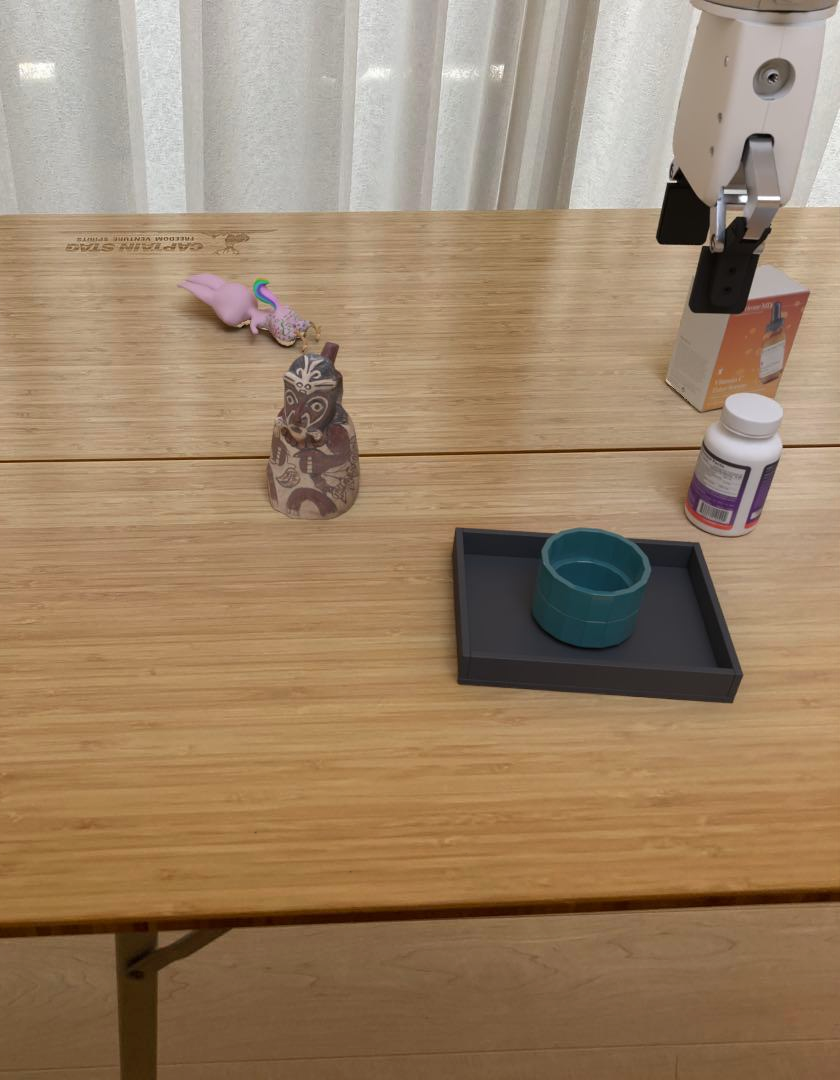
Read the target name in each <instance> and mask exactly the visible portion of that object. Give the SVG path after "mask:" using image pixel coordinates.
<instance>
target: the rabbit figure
mask: <svg viewBox="0 0 840 1080" xmlns="http://www.w3.org/2000/svg"><path fill="white" fill-rule="evenodd" d="M184 281H185V282H180V283H179V282H177V283H176V285H175V286H176V287H178V288H181V289H184V290H186V291H188V292H189V293H191V294H192V295H193V296H195V297H196V298H197V299H198V300H200V301H201V302H203V303H204V304H206V305H208V306H210V307H211V309H213V311H214V312H215V314H216V316H217V317H218V318H219V319H220V320H221V321H222V322H223V323H224V324H225V325H227V326H229V325H230V326H229V327H231V326H237V325H239V324H241V323H242V322H245V321H247V320H251V321H250V324H249V328H250V330H251V333H252V335H254V336H255V335H258V334H259V330H258V327H260V328H266V329H268V330H269V331H268V332H270V331H271V332H270V334H271V333H272V334H273V335H274V336H275V337H276V338H278V339H280V340H282V341H286V342H291V341H294V340H296V341H297V340H298V339H297V337H300V338H299V339H300V340H301V342H302V346H303V345H304V346H305V345H307V346H308V343H309V342H308V341H309V340H308V337H309V335H306V336H305V337H304V336H302V335H301V334H300V333H301V332H305V331H306V332H308V329H309V328H313V329H314V331H315V335H316V334H320V333H321V331H322V330H321V327H322V325H321V324H320V325H319V326H317V325H316V324H315V322H314V321H313V319H310V320H305V319H303V318H302V317H301V316H300V315H299V313H297V312H296V311H294V310H293V309H291V306H290V305H289V304H285V305H281V303H280V301H279V299H278V297H277V296H276V295H275V294H274V292H273V291H271V290H270V289H269V288H268V286H267V285H270V284H271V282H270V281H269V280H268V279H266V278H263V277H259V278H257V279H256V280H255V281H254V283H253V288H252V289H253V291H252V290H251V289H249V288H248V287H247V286H246V285H244V284H241V283H240V282H239V283H238V282H228V281H227V280H226V279H224V278H222V277H220V276H218V275H216V274H212V273H208V272H207V273H206V272H204V273H196V274H193V275H191V276H188V277H186V278H184ZM258 300H259V301H260V302H262V303H263V304H267V305H271V307H268V308H265V309H259V302H258ZM260 328H259V329H260ZM272 334H271V335H272ZM273 335H272V336H273ZM274 336H273V337H274Z"/></svg>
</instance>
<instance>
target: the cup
mask: <svg viewBox="0 0 840 1080" xmlns="http://www.w3.org/2000/svg"><path fill="white" fill-rule="evenodd" d="M555 533H556V532H555ZM626 538H627V537H626V536H625V537H624V536H623V535H622V534H619V533H615V532H612V531H609V530H606V529H602V528H598V527H597V528H595V527H581V526H579V527H574V528H569V529H563V530H560V531H558V532H557V533H556V534H555V535H553V536H552V537H550V538H548V539H547V541H546V543H545V545H544V547H543V548H542V550H541V555H540V560H539V565H538V570H537V575H536V580H535V585H534V590H533V595H532V600H531V605H532V613H533V616H534V618H535V619H536V620H537V622H538V623H539V624H540V626H541V627H542V628H543V629H544V630H545V631H547V632H548V633H549V634H551V635H552V636H553V637H555V638H556V639H558V640H560V641H562V642H564V643H567V644H569V645H572V646H576V647H581V648H604V647H608V646H612V645H617V644H620V643H621V642H622V641H624V640H625V639H626V638H628V637H629V636H631V634H632V633H633V630H634V628H635V625H636V623H637V619H638V616H639V612H640V609H641V605H642V602H643V598H644V595H645V591H646V588H647V584H648V581H649V577H650V574H651V567H650V564H649V560H648V557H647V556H646V555H645V553H644V552H643V551H642V550H641V549H640V548H639V547H638V546H637V545H636V544H635V543H633V542H631V541H630V540H628V539H626Z"/></svg>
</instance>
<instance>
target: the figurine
mask: <svg viewBox="0 0 840 1080" xmlns="http://www.w3.org/2000/svg"><path fill="white" fill-rule="evenodd" d="M339 349H340V345H339V344H338V343H336V342H333V341H331V340H327V341H325V343H324V346H323V347H322V349H321V352H320V354H318V353H313V352H306V353H303V354H302V355H300V356H299V357H297V358H296V359H294V361H293V362H292V363H291V365H290V366H289V368H288V370H286V371H285V372H284V373H283V374H282V381H283V384H284V385H283V387H284V388H283V389H284V390H283V391H284V393H283V407H281V409H280V411H279V412H278V414H277V416H276V417H275V419H274V422H273V423H274V425H273V428H272V434H271V435H272V437H271V445H270V451H269V452H270V453H269V458H268V462H267V465H266V476H267V479H266V481H267V489H268V494H269V503H270V504H271V506H272V508H273V509H274V510H275V511H278V512H280V513H282V514H284V515H285V516H287V517H290V518H292V519H301V520H310V521H311V520H319V521H321V520H331V519H334V518H337V517H339V516H341V515H342V514H344V513H346V512H347V511H348V510H350V509H351V507H352V505H353V504H354V503H355V501H356V498H357V495H358V493H359V489H360V480H361V479H360V478H361V466H360V465H361V464H360V454H359V453H360V452H359V443H358V440H357V433H356V428H355V425H354V422H353V420H352V419H353V418H352V417H351V416H350V414H349V413H348V411H347V410H346V409H345V408H344V407H343V397H344V376H343V375H342V373H341V371H339V370H338V369H337V368H336V367H335V362H336V359H337V356H338V353H339Z"/></svg>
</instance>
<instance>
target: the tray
mask: <svg viewBox="0 0 840 1080" xmlns="http://www.w3.org/2000/svg"><path fill="white" fill-rule="evenodd" d="M555 534H556V532H541V531H539V532H538V531H524V530H510V529H509V530H508V529H493V528H492V529H491V528H476V527H462V526H461V527H460V526H459V527H458V526H455V528H454V535H453V541H452V549H451V565H452V584H453V585H452V587H453V588H452V589H453V605H454V606H453V607H454V609H453V610H454V627H455V645H456V646H455V648H456V665H457V684H458V685H465V686H479V687H481V686H482V687H497V688H508V689H509V688H510V689H523V690H524V689H525V690H537V691H538V690H541V691H554V692H566V693H567V692H568V693H583V694H596V695H610V696H624V697H625V696H626V697H639V698H640V697H641V698H653V699H654V698H656V699H669V700H671V699H672V700H682V701H683V700H685V701H697V702H698V701H699V702H711V703H726V704H727V703H728V704H733V703H734V701H735V698H736V695H737V693H738V691H739V687H740V685H741V683H742V680H743V677H744V672H743V670H742V667H741V663H740V661H739V658H738V654H737V652H736V648H735V645H734V642H733V640H732V637H731V633H730V630H729V627H728V625H727V621H726V618H725V615H724V612H723V609H722V606H721V603H720V600H719V597H718V594H717V591H716V588H715V585H714V582H713V579H712V576H711V573H710V571H709V567H708V565H707V564H708V563H707V561H706V558H705V555H704V552H703V548H702V546H701V542H698V541H684V540H667V539H652V538H637V537H636V538H635V537H625V538H626V539H628V540H630V541H631V542H633V543H635V544H636V545H637V546H638V547H639V548H640V549H641V550H642V551H643V552H644V553H645V555H646V556H647V557H648V560H649V564H650V567H651V574H650V577H649V581H648V584H647V588H646V591H645V595H644V598H643V602H642V605H641V609H640V612H639V616H638V619H637V623H636V625H635V628H634V630H633V633H632V634H631V636H629V637H628V638H626V639H625V640H624V641H622V642H621V643H620V644H617V645H612V646H608V647H604V648H581V647H576V646H572V645H569V644H567V643H564V642H562V641H560V640H558V639H556V638H555V637H553V636H552V635H551V634H549V633H548V632H547V631H545V630H544V629H543V628H542V627H541V626H540V624H539V623H538V622H537V620H536V619H535V618H534V616H533V613H532V605H531V600H532V595H533V590H534V585H535V580H536V575H537V570H538V565H539V560H540V555H541V550H542V548H543V547H544V545H545V543H546V541H547V539H548V538H550V537H552V536H553V535H555Z"/></svg>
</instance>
